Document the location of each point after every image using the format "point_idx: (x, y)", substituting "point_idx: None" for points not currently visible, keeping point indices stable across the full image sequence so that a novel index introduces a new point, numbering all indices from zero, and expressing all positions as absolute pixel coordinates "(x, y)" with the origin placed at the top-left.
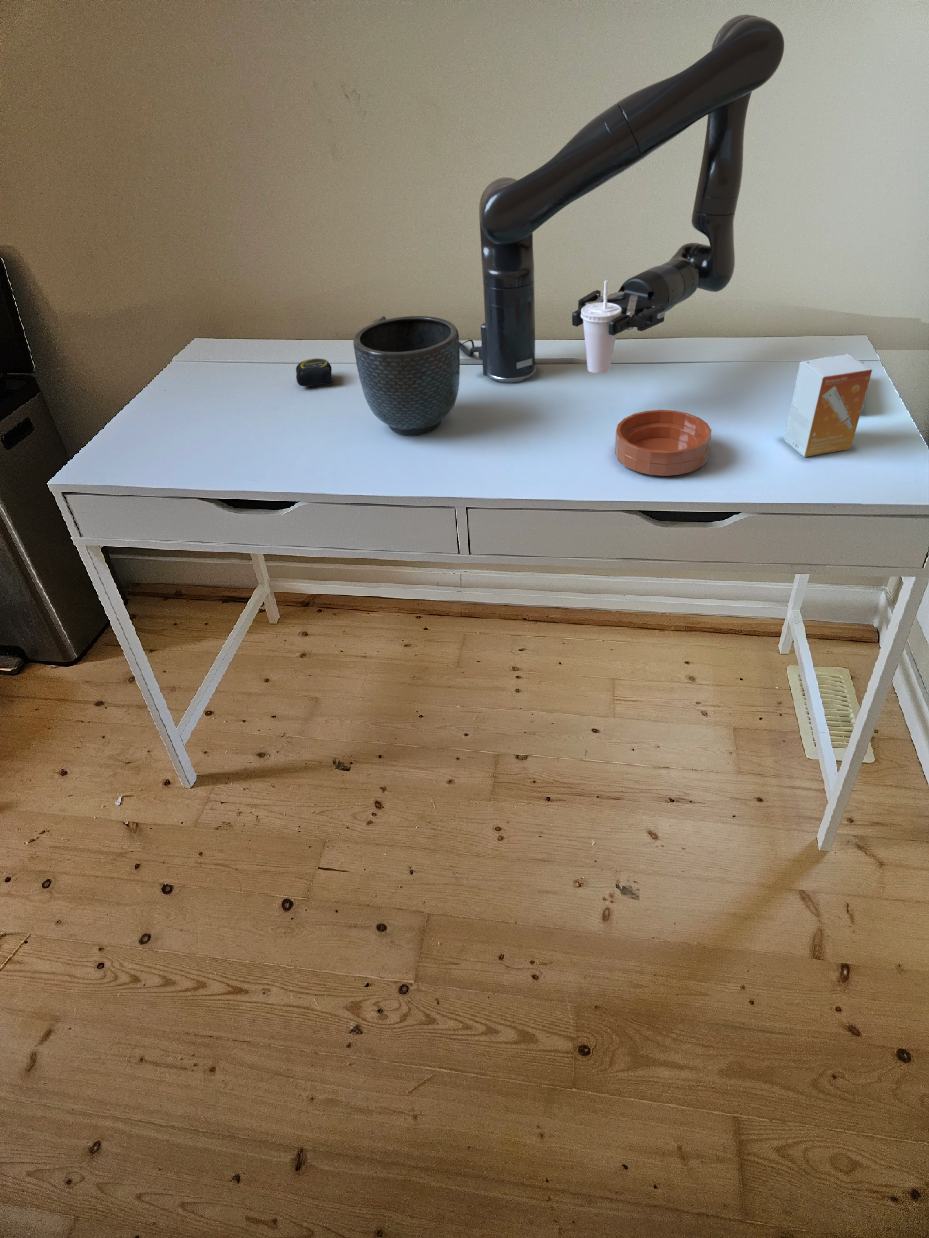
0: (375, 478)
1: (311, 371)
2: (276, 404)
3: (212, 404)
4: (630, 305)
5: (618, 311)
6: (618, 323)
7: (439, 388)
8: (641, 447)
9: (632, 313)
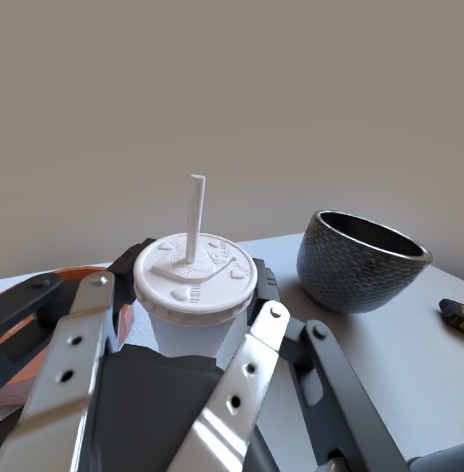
0: (273, 246)
1: (452, 304)
2: (408, 286)
3: (419, 275)
4: (92, 310)
5: (142, 255)
6: (136, 246)
7: (301, 248)
8: (98, 269)
9: (87, 279)
